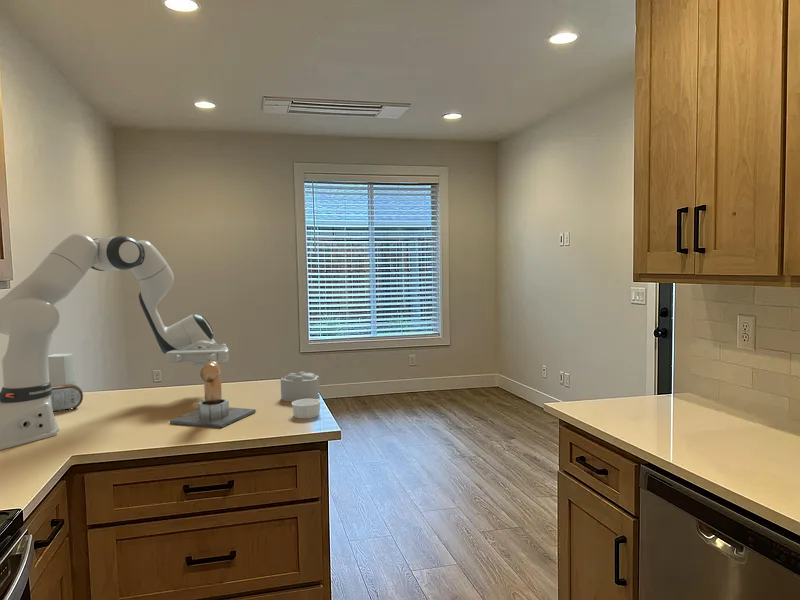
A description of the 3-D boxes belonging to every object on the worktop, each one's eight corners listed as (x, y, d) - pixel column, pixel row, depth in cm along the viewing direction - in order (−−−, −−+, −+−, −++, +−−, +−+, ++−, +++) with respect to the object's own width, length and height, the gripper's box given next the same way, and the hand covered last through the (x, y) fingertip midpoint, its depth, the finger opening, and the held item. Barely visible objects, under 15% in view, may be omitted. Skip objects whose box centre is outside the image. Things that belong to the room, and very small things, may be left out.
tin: (83, 406, 199) (82, 382, 199) (84, 408, 197) (82, 383, 196) (31, 413, 191) (29, 388, 191) (31, 415, 189) (29, 389, 188)
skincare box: (78, 394, 217) (75, 353, 216) (66, 399, 211) (63, 356, 210) (56, 394, 218) (54, 353, 217) (44, 399, 212) (41, 356, 211)
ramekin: (315, 420, 176) (314, 405, 176) (287, 419, 178) (287, 405, 178) (324, 412, 185) (324, 398, 185) (298, 411, 187) (297, 398, 187)
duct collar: (220, 428, 169) (220, 411, 169) (170, 423, 175) (169, 407, 175) (255, 412, 186) (255, 396, 186) (208, 408, 192) (207, 393, 192)
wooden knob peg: (206, 412, 183) (204, 360, 182) (223, 411, 184) (221, 359, 183) (202, 421, 174) (199, 365, 172) (219, 419, 175) (217, 365, 173)
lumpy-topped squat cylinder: (316, 401, 199) (315, 376, 199) (278, 402, 199) (277, 377, 199) (320, 394, 210) (319, 370, 209) (284, 395, 210) (283, 371, 209)
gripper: (169, 345, 203) (160, 350, 190) (230, 343, 207) (226, 348, 193) (170, 363, 204) (161, 369, 190) (231, 361, 207) (226, 367, 194)
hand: (194, 358), depth 192 cm, fingers open, 8 cm apart
